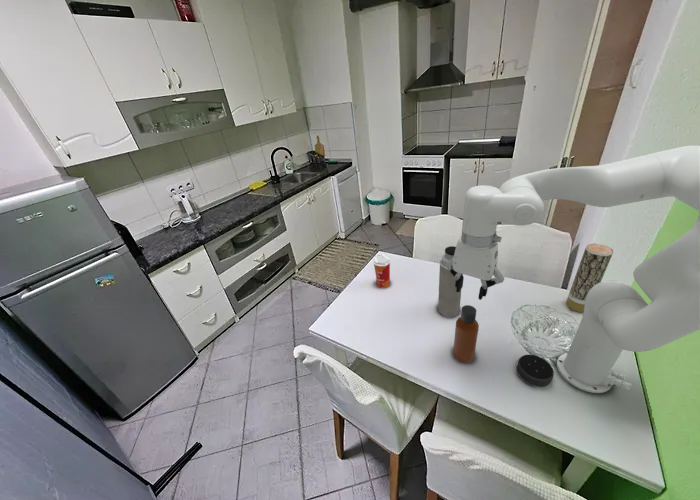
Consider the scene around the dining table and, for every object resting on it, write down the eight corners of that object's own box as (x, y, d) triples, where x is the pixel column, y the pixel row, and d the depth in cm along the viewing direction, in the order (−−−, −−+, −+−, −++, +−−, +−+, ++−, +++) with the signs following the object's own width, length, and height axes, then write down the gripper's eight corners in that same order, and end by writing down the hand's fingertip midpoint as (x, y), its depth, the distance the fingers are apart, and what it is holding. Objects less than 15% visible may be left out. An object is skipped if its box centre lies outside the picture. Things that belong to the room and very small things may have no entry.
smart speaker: (548, 366, 84) (551, 357, 82) (553, 392, 77) (557, 384, 75) (515, 358, 87) (517, 350, 85) (517, 383, 80) (519, 374, 78)
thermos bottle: (458, 303, 111) (463, 243, 97) (460, 317, 104) (467, 255, 90) (437, 302, 113) (439, 243, 98) (438, 316, 106) (441, 255, 92)
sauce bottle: (476, 352, 91) (483, 308, 81) (470, 366, 87) (476, 322, 77) (457, 343, 95) (461, 300, 85) (450, 356, 91) (453, 313, 81)
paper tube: (570, 312, 100) (592, 254, 87) (562, 299, 105) (582, 243, 92) (592, 313, 98) (618, 254, 85) (583, 300, 103) (606, 243, 91)
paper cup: (372, 281, 130) (370, 256, 123) (387, 277, 132) (385, 252, 124) (379, 291, 123) (376, 265, 116) (394, 286, 125) (393, 260, 118)
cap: (477, 316, 82) (478, 308, 81) (472, 325, 80) (473, 316, 78) (463, 311, 85) (464, 303, 83) (458, 319, 82) (459, 311, 81)
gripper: (520, 237, 65) (507, 295, 75) (449, 223, 76) (445, 276, 85) (512, 252, 61) (499, 312, 70) (437, 235, 71) (435, 290, 80)
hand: (470, 292), depth 77 cm, fingers open, 5 cm apart
